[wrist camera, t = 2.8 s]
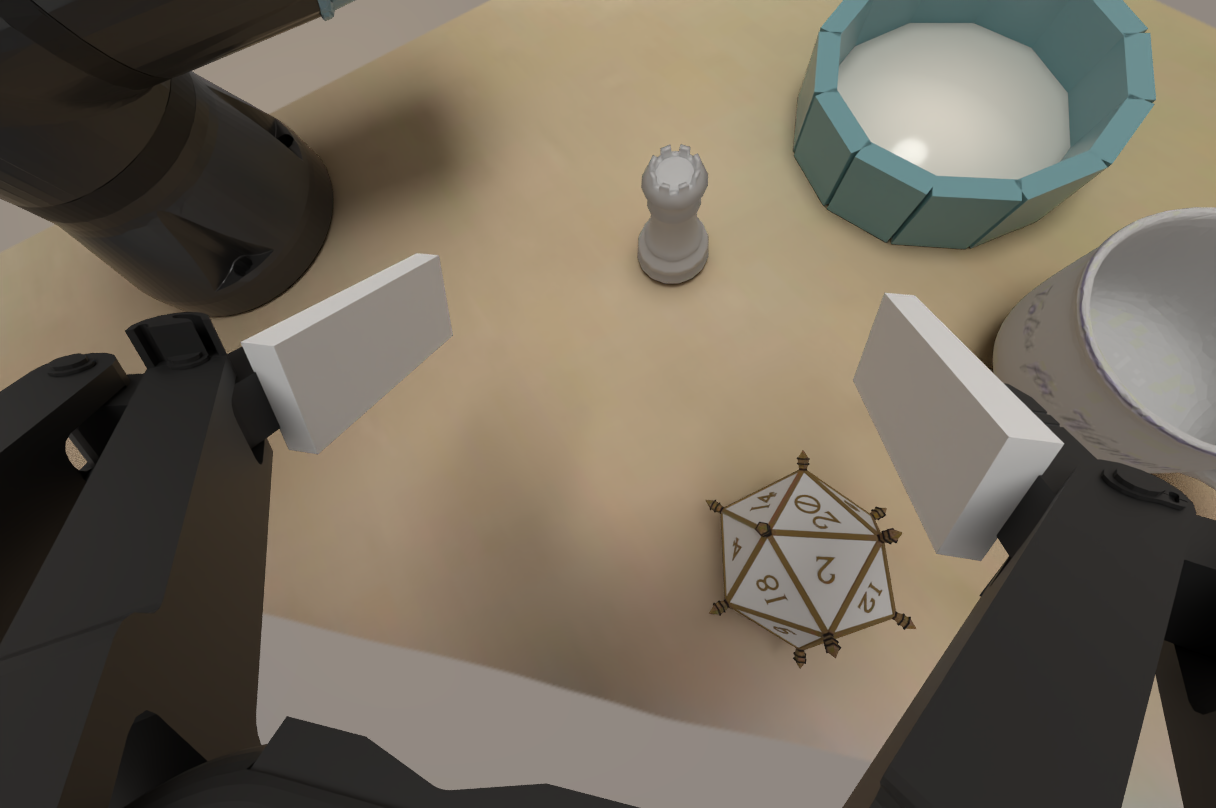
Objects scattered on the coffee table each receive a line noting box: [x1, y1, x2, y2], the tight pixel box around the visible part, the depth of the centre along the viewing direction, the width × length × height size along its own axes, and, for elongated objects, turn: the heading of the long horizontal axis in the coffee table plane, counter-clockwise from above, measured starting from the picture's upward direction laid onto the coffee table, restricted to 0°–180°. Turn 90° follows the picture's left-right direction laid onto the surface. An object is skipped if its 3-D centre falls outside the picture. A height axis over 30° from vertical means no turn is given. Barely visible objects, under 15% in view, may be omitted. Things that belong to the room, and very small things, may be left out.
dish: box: [793, 0, 1156, 249], centre depth 27 cm, size 16×16×4 cm
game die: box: [706, 451, 916, 668], centre depth 21 cm, size 9×8×10 cm
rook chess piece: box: [638, 144, 708, 283], centre depth 26 cm, size 4×4×8 cm
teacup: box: [993, 207, 1216, 490], centre depth 21 cm, size 14×11×8 cm
